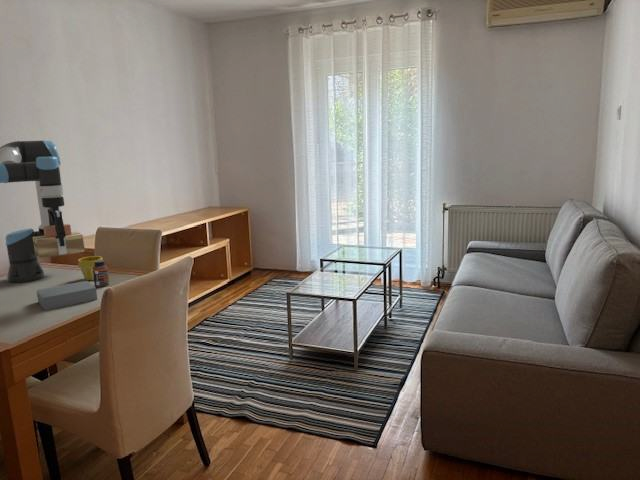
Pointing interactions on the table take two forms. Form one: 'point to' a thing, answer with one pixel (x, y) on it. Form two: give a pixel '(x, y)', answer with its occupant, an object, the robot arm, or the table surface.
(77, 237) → the beige block
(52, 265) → the table surface
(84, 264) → the plant pot
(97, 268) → the supplement bottle
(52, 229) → the crate
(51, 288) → the block
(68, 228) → the crate
